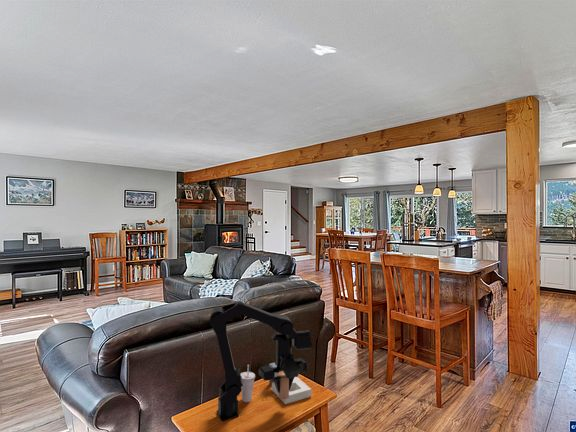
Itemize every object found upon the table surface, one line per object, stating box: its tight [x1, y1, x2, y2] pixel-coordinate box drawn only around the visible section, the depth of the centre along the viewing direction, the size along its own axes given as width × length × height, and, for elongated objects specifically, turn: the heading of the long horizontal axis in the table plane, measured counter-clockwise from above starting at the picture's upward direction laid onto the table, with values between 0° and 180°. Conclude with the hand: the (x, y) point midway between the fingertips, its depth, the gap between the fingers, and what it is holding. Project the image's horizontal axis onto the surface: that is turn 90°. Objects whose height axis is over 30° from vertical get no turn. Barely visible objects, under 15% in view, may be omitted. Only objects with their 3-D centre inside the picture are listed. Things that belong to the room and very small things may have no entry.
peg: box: [277, 372, 289, 400], centre depth 127 cm, size 4×4×8 cm
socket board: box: [271, 376, 312, 405], centre depth 138 cm, size 12×12×3 cm
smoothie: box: [240, 364, 256, 403], centre depth 133 cm, size 6×6×14 cm
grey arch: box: [268, 362, 276, 386], centre depth 146 cm, size 10×4×9 cm, turn 118°
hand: (283, 390), depth 127 cm, fingers closed on peg, 4 cm apart
